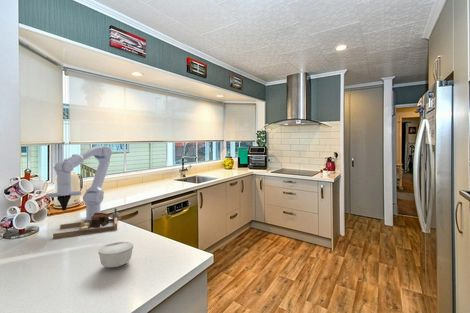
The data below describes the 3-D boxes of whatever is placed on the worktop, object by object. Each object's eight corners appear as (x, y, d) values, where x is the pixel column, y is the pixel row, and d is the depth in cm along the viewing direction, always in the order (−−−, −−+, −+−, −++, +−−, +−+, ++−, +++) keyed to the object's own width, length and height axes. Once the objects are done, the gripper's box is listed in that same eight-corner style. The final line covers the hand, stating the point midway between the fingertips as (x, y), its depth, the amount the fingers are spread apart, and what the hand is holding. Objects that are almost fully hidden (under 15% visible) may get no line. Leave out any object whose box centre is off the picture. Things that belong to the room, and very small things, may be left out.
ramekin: (125, 252, 89) (124, 239, 89) (139, 260, 82) (139, 246, 82) (93, 262, 80) (93, 248, 80) (106, 272, 73) (105, 256, 73)
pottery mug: (83, 228, 119) (88, 212, 123) (99, 231, 126) (104, 217, 130) (98, 226, 114) (103, 210, 118) (114, 229, 121) (118, 214, 125)
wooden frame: (61, 227, 120) (60, 213, 120) (118, 220, 133) (118, 207, 133) (53, 238, 104) (53, 221, 104) (119, 229, 117) (119, 214, 117)
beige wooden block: (82, 226, 121) (82, 218, 121) (89, 225, 122) (89, 217, 122) (80, 232, 111) (80, 223, 111) (87, 231, 113) (87, 222, 113)
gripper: (44, 185, 111) (44, 213, 111) (79, 184, 118) (80, 210, 118) (47, 184, 117) (48, 210, 117) (81, 182, 124) (81, 207, 124)
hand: (64, 210), depth 118 cm, fingers closed
